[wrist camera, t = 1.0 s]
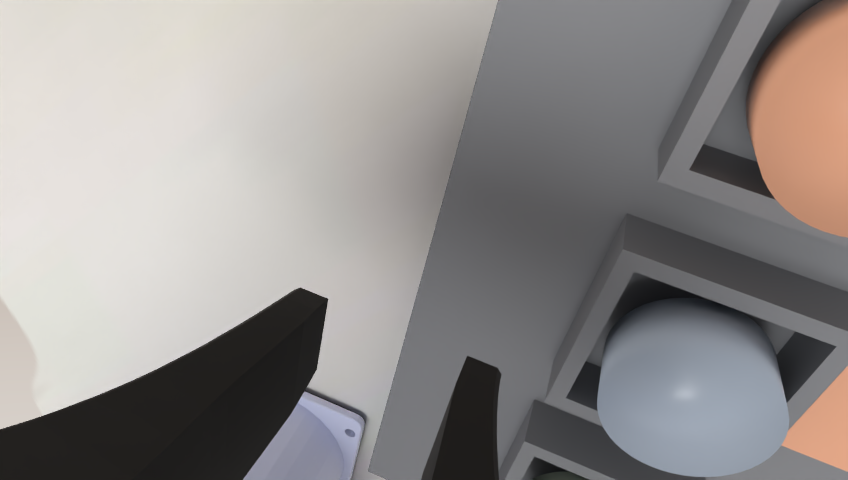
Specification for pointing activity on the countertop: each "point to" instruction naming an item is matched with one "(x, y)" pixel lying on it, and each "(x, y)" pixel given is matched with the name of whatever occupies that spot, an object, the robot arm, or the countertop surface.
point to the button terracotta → (805, 117)
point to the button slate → (692, 388)
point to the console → (614, 235)
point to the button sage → (560, 476)
